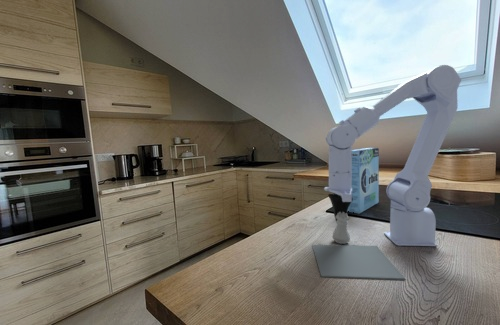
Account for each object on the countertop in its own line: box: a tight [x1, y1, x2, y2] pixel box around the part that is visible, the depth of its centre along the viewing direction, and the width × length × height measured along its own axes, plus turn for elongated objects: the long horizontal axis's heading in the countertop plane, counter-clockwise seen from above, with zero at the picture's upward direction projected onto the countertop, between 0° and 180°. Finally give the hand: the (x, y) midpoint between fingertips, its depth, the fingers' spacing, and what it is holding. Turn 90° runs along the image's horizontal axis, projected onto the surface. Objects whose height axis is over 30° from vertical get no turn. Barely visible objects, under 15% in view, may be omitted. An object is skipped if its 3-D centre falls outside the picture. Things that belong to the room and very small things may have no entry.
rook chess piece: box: [332, 212, 351, 245], centre depth 62 cm, size 4×4×8 cm
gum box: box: [347, 147, 380, 214], centre depth 92 cm, size 20×5×23 cm, turn 133°
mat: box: [311, 244, 406, 281], centre depth 54 cm, size 16×14×1 cm
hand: (340, 220), depth 64 cm, fingers closed
